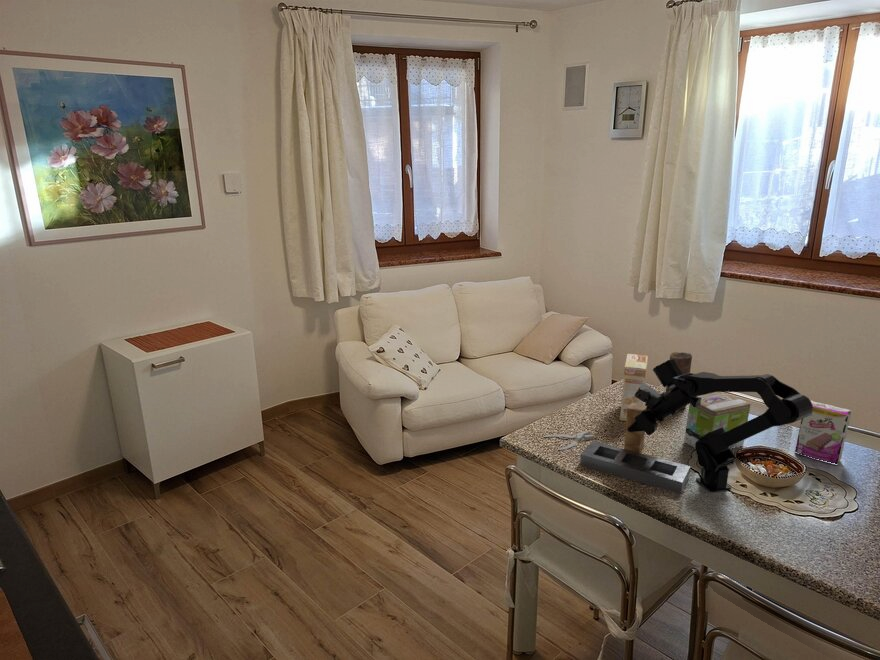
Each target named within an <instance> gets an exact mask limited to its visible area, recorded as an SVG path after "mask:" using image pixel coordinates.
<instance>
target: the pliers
mask: <svg viewBox="0 0 880 660" xmlns="http://www.w3.org/2000/svg"><path fill="white" fill-rule="evenodd" d="M542 437H543V438H542V439H545V438H544V437H550V438H557V437H559V438H558V439H560V438H562V439H561V440H564V439H569V438H573V440H572V442H571V440H569V441H568V440H567V441H568V442H567V444H568V445H566V446H563V447H560V448H556V451H557V450H562V451H566V450H565V449H567V450H570V449H572V448H574V447H576V446H577V445H578V443H580V442H581V440H583V441H589V440H590V441H591V440H594V439H595V436H594V434H590V431H589V430H587V431H586V430H585V431H581V432H578V433H576V434H575V435H568V434H559V433H558V434H555V433H554V434H548V435H543V436H542ZM563 437H565V438H563ZM579 441H580V442H579ZM576 444H577V445H576ZM575 445H576V446H575ZM573 446H574V447H573ZM571 447H572V448H571ZM569 448H570V449H569Z"/></svg>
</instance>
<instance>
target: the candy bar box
mask: <svg viewBox="0 0 880 660" xmlns="http://www.w3.org/2000/svg"><path fill="white" fill-rule="evenodd" d="M809 400H810V401H811V403H812V405H813V410H812V414H811V415H809V416H808V417H805V418H803V419H800V420H801V421H800V424H799V425H800V426H799V430H798V435H797V439H796V445H795V449H794V453H795V452H797V453H799V454H802V455H806V456H809V457H812V458H815V459H819V460H823V461H827V462H831V463H835V464H839V463H840V462H841V461H842V455H843V451H844V447H845V446H844V445H845V442H846V437H847V433H848V429H849V424H850V419H851V416H852V410H851V409H848V408H844V407H840V406H835V405H831V404H826V403H823V402H819V401H815V400H811V399H809ZM802 455H801V456H802ZM812 458H811V459H812ZM815 459H814V460H815ZM839 461H840V462H839ZM838 462H839V463H838Z"/></svg>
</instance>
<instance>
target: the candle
mask: <svg viewBox="0 0 880 660" xmlns="http://www.w3.org/2000/svg"><path fill="white" fill-rule="evenodd" d="M670 359H674V361H675V362H676V365H677V366H678V368H679V369H680V371H681V372H682V374H683V375H684V374H688V373H691V370H692V369H691V367H692V359H693V355H692V354H691V353H690V352H676V351H675V352H671V353H670V355H669V360H670ZM675 387H676V386H674V387H672V388H668V386H667V387H665V392H666V393H667V392H669V391H670V390H672V389H673V388H675ZM686 407H687V405H686V406H685V407H683V408H686ZM683 408H682V409H683Z"/></svg>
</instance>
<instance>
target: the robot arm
mask: <svg viewBox="0 0 880 660" xmlns="http://www.w3.org/2000/svg"><path fill="white" fill-rule="evenodd" d="M652 371H653V373H654V374H655V376H656V377H657V379H658V381H659V382H660V384H661V385H662V387H663V388H664V389H666V387H667V386H668V388H672V387H674V386H676V387H675V388H673V389H672V390H670V391H669V392H667V393H666V391H663V392H662V393H660V392H659V391H657V390H656V389H654V388H653V387H652V386H650V385H648V384H646V382H645V383H643V384H642V385H641V386H640V387H639V389H638V390H637V392H636V393H635V397H636V398H638V399H640V400H641V401H643V403H645V404H644V406H647V411H645V410H642V411H641V412H640V411H639V413H638V414H637V415H636V416H635V420H636V421H635V422H634V423H633V424H632V425H631V426H630V427H629V428H628V431H629V432H636V431H645V435H647V436H651V435H652V434H654V433H655V432H656V431H657V429H658V425H659V424H658V422H659V423H662V422H664V421H665V420H666V419H667V418H668V417H670V416H674V415H676V413H677V412H679V411H680V410H682V409H683V407H685V406H686V407H687V406H688V405H690V403H691V404H692V406H693V407H699V406H700V404H701V399H702V398H701V396H704V395H709V394H715V393H757V394H758V395H759V396H760V398H761V399H762V401H763V403H764V405H765V407H767V409H766V410H765V412H764V413H762V414H759V416H756V417H754V418H751V419H750V420H748V422H745V423H743V424H741V425H739V426H737V427H735V428H733V429H731V430H729V431H726V432H724V429H723V427H721V428H718V429H716V430H713V431H711V432H709V433H707V434H705V435H703V436H700V437H698V439H700V440H698V441H697V442H696V443H695V448H694V449H695V452H696V456H697V460H698V461H697V462H698V466H700V467H701V470H700V477H696V478H695V481H696V482H698V483H699V484H700V485H701V486H703V487H704V489H706V490H708V491H709V492H712V493H713V492H715V493H716V492H719V491H727V490H732V486H731V485H730V484H728V478H729V472H730V468H729V467H728V466H730V465H733V464H735V462H736V461H737V456H735V453H734V452H733V450H732V448H733V447H734V446H735V444H737V443H738V442H740V441H743V440H744V441H745V440H747V439H749V438H751V437H753V436H756V435H758V434H760V433H762V432H765V431H766V430H769V429H772V428H773V427H774V428H775V427H781V426H784V425H785V426H786V425H789V424H792V423H795V422H798V421H800V420H801V419H803V418H805V417H808V416H809V415H811V414H812V410H813V405H812V403H811V401H812V400H811V399H810V398H809V397H808V396H806V395H804V394H802V393H800V392H799V391H798V390H797V389H796V388H794V387H792V386H791V385H788V384H786V383H784V382H782V381H780V380H779V379H778V378H776V377H775V376H774V375H771V374H770V373H765V374H763V375H762V374H758V375H752V374H751V375H719V374H716V373H714V372H707V371H702V372H698V373H692V372H690V373H688V374H684V375H683V374H682V372H681V371H680V369H679V368H678V366H677V365H676V362H675V361H674V359H670V358H669V359H667V360H665V361H664V362H663V363H660V364H658V365H656V366H655V367H654V368H653V369H652ZM781 398H782V399H781ZM810 400H811V401H810ZM686 407H685V408H686ZM733 449H734V448H733Z"/></svg>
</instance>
